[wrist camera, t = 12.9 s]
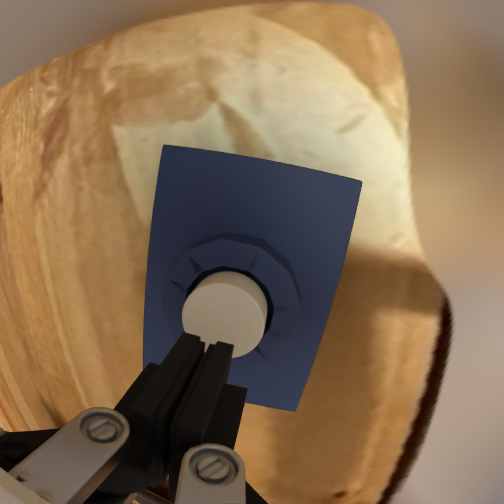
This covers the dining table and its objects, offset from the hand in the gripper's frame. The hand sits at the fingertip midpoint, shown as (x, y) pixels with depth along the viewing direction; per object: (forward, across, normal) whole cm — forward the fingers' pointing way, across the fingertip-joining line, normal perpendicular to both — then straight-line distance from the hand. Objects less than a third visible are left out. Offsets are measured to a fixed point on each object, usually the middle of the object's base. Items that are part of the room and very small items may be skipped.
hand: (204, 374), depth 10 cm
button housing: (+9, 0, 0) cm, 9 cm away
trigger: (+5, 0, 0) cm, 5 cm away
